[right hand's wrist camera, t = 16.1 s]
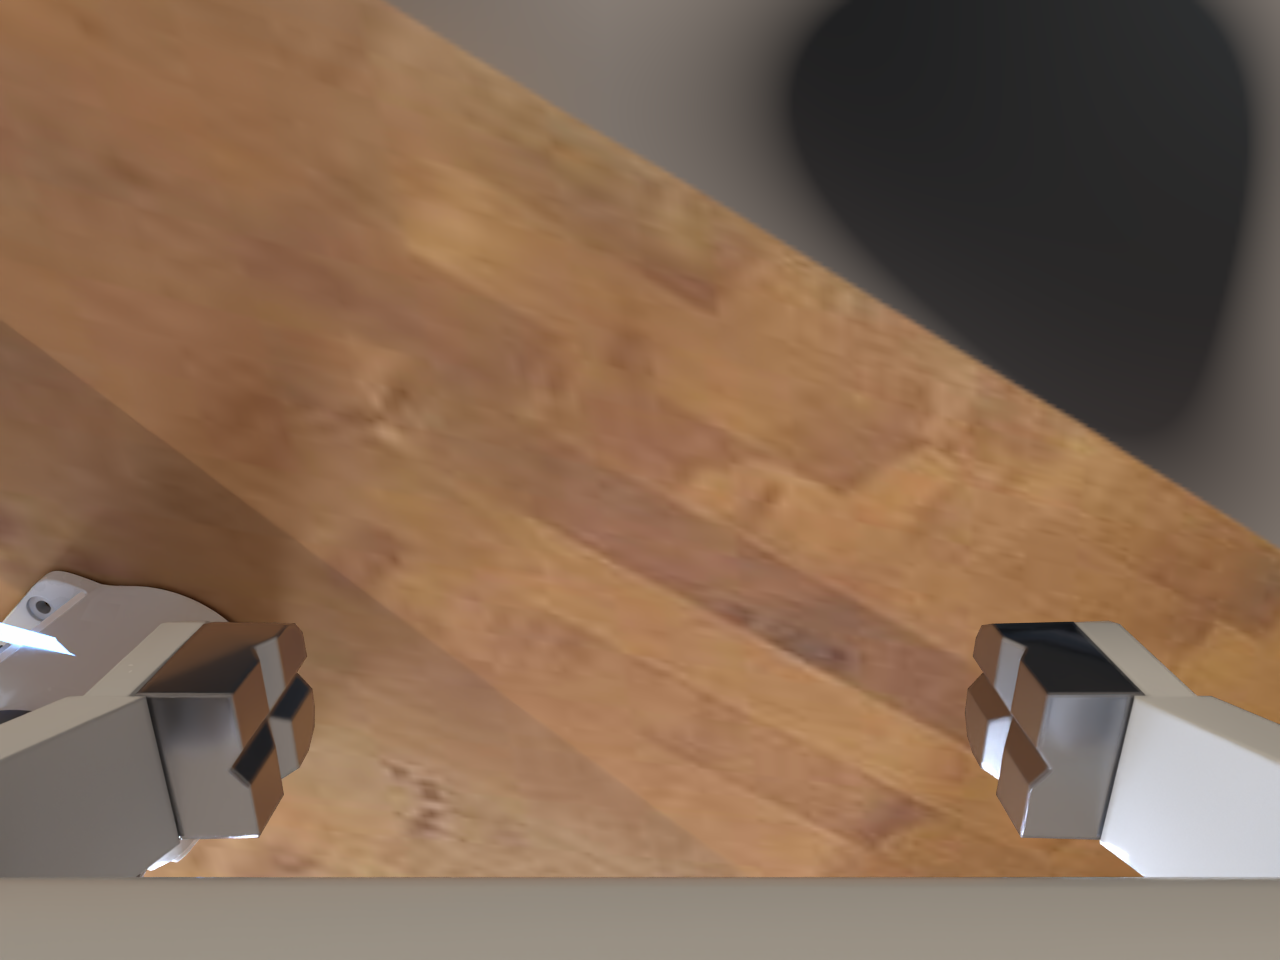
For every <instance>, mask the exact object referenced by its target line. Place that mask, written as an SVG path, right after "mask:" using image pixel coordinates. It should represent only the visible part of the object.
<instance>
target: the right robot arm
mask: <svg viewBox="0 0 1280 960" xmlns="http://www.w3.org/2000/svg"><path fill="white" fill-rule="evenodd" d="M44 601H45V602H47V603H48V604H49V605H50V607H49V606H47V605H46V604H45V602H44ZM306 657H307V653H306V648H305V643H304V638H303V633H302V631H301V630H300V629H299V628H298V626H297V625H296V624H295V623H250V622H228V621H227V620H226V619H224V618H223V617H222V616H220V615H219V614H218V613H216V612H215V611H213V610H211V609H210V608H208V607H206V606H205V605H203V604H201V603H199V602H197V601H195V600H193V599H190V598H188V597H185V596H183V595H180V594H177V593H174V592H170V591H167V590H162V589H157V588H151V587H142V586H111V585H103V584H100V583H97V582H94V581H92V580H89V579H86V578H84V577H81V576H78V575H75V574H72V573H68V572H63V571H52V572H49V573H47V574H46V575H45V576H43V577H42V578H41V579H40V580H39V581H38V582H37V583H36V584H35V585H34V586H33V587H32V588H31V589H30V590H29V592H28V593H27V594H26V595H25V596H24V597H23V598H22V600H21V601H20V602H19V603H18V604H17V605H16V607H15V608H14V609H13V610H12V611H11V612H10V614H9V615H8V616H7V617H6V618H5V619H4V620H3V622H2V623H0V960H1280V724H1277V723H1275V722H1273V721H1270V720H1268V719H1265V718H1263V717H1260V716H1258V715H1256V714H1253V713H1251V712H1248V711H1246V710H1244V709H1241V708H1239V707H1236V706H1234V705H1231V704H1229V703H1227V702H1224V701H1222V700H1219V699H1217V698H1215V697H1212V696H1197V695H1195V694H1194V693H1193V692H1192V691H1191V690H1190V689H1189V688H1188V687H1187V686H1186V685H1185V684H1184V683H1183V682H1181V681H1180V680H1179V679H1178V678H1177V677H1176V676H1175V675H1174V674H1173V673H1172V672H1171V671H1170V670H1169V669H1167V668H1166V667H1165V666H1164V665H1163V664H1162V663H1161V662H1160V661H1159V660H1158V659H1157V658H1156V657H1154V656H1153V655H1152V654H1151V653H1150V652H1149V651H1148V650H1147V649H1146V648H1145V647H1144V646H1143V645H1142V644H1140V643H1139V642H1138V641H1137V640H1136V639H1135V638H1134V637H1133V636H1132V635H1131V634H1130V633H1129V632H1128V631H1126V630H1125V629H1124V628H1123V627H1122V626H1121V625H1120V624H1117V623H1114V622H1111V621H1091V622H1045V623H1004V624H987V625H982V626H981V628H980V630H979V632H978V634H977V637H976V641H975V647H974V652H973V657H974V659H975V660H976V662H977V664H978V665H979V667H980V668H981V670H982V671H983V673H982V674H981V675H980V676H979V677H978V678H977V680H976V681H975V682H974V683H973V684H972V685H971V686H970V687H969V688H968V691H967V699H966V708H965V719H966V730H967V737H968V740H969V743H970V747H971V750H972V753H973V755H974V756H975V758H976V760H977V762H978V764H979V766H980V767H981V768H982V769H983V770H985V771H987V772H988V773H990V774H991V775H993V776H995V777H996V778H998V779H999V780H998V786H997V792H996V795H997V797H998V799H999V800H1000V802H1001V804H1002V806H1003V807H1004V809H1005V811H1006V812H1007V814H1008V816H1009V818H1010V819H1011V821H1012V823H1013V824H1014V826H1015V828H1016V830H1017V831H1018V833H1019V835H1020V836H1021V838H1057V839H1094V840H1100V844H1102V845H1103V846H1104V847H1105V848H1107V849H1108V850H1109V851H1111V852H1112V853H1113V854H1115V855H1116V856H1117V857H1119V858H1120V859H1121V860H1123V861H1124V862H1125V863H1127V864H1128V865H1129V866H1131V867H1132V868H1133V869H1135V870H1136V871H1137V872H1139V873H1140V874H1141V875H1143V876H1144V877H144V876H143V875H144V874H145V872H146V871H147V870H154V869H156V868H158V867H160V866H162V865H164V864H166V863H168V862H170V861H173V862H178V861H179V860H181V859H182V858H183V857H184V856H185V855H187V853H188V852H189V851H190V850H191V849H192V847H193V846H194V845H195V844H196V842H197V841H198V840H199V839H221V838H256V837H260V835H261V833H262V831H263V830H264V828H265V826H266V825H267V823H268V821H269V819H270V818H271V816H272V814H273V812H274V811H275V809H276V807H277V806H278V804H279V802H280V800H281V799H282V797H283V795H284V792H283V786H282V780H281V779H282V778H284V777H285V776H287V775H289V774H290V773H292V772H293V771H295V770H297V769H298V768H299V767H300V766H301V764H302V762H303V760H304V758H305V756H306V754H307V753H308V751H309V747H310V743H311V739H312V735H313V730H314V721H315V705H314V698H313V691H312V688H311V687H310V686H309V685H308V684H307V683H306V682H305V681H304V680H303V678H302V677H301V676H300V675H299V674H298V673H297V671H298V670H299V668H300V667H301V665H302V664H303V662H304V660H305V659H306Z"/></svg>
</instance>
